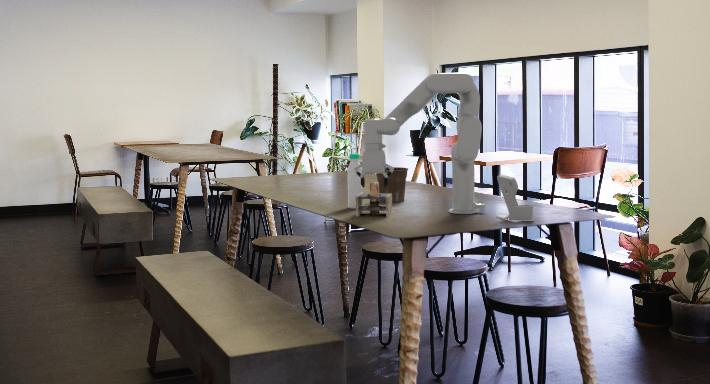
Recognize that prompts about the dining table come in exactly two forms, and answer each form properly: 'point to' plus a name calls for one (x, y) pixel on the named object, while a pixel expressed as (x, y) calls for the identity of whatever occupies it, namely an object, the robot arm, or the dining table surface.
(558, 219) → the dining table surface
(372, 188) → the tan cylinder
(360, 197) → the collar stand
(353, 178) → the water bottle
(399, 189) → the plant pot
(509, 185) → the phone holder
